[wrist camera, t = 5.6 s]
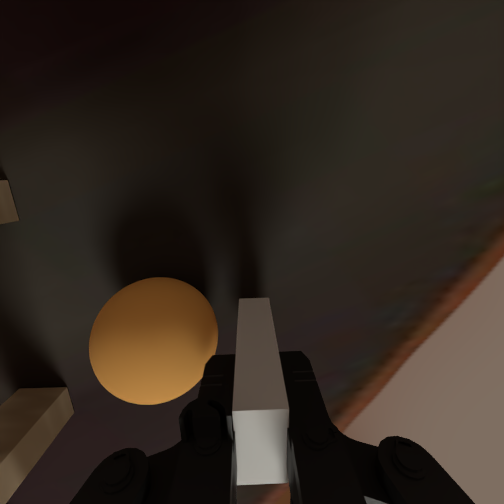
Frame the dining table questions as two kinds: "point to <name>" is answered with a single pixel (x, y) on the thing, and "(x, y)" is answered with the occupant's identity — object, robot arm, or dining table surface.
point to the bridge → (26, 408)
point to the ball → (153, 340)
